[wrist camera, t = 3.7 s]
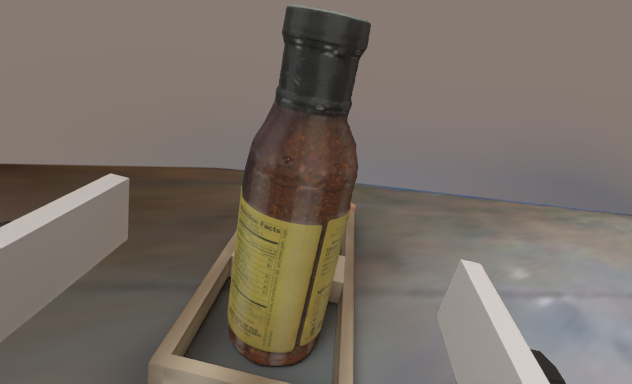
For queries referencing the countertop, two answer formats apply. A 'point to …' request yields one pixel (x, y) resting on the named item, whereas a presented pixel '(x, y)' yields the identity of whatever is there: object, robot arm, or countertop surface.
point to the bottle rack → (168, 362)
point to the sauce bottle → (297, 191)
